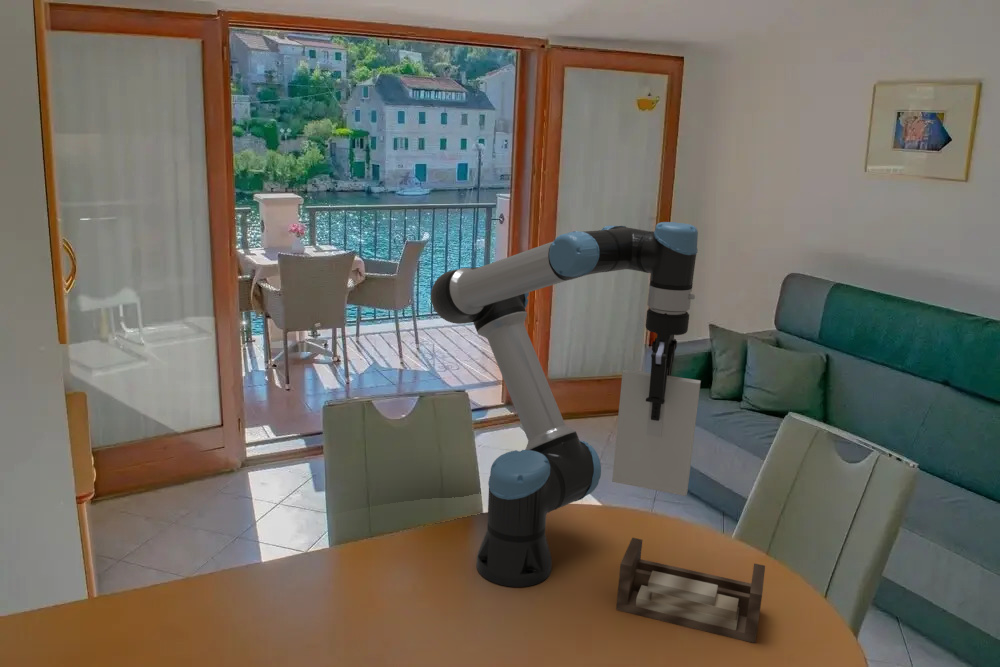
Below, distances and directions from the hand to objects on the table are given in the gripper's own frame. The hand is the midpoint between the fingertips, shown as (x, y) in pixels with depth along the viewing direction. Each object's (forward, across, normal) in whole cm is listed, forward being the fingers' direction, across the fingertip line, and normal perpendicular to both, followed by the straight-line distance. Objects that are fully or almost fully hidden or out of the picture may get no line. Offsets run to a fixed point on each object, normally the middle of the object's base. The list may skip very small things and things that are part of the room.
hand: (655, 432), depth 153 cm
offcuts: (+31, -7, -10) cm, 33 cm away
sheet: (+11, 0, 0) cm, 11 cm away
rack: (+32, -4, -10) cm, 34 cm away
